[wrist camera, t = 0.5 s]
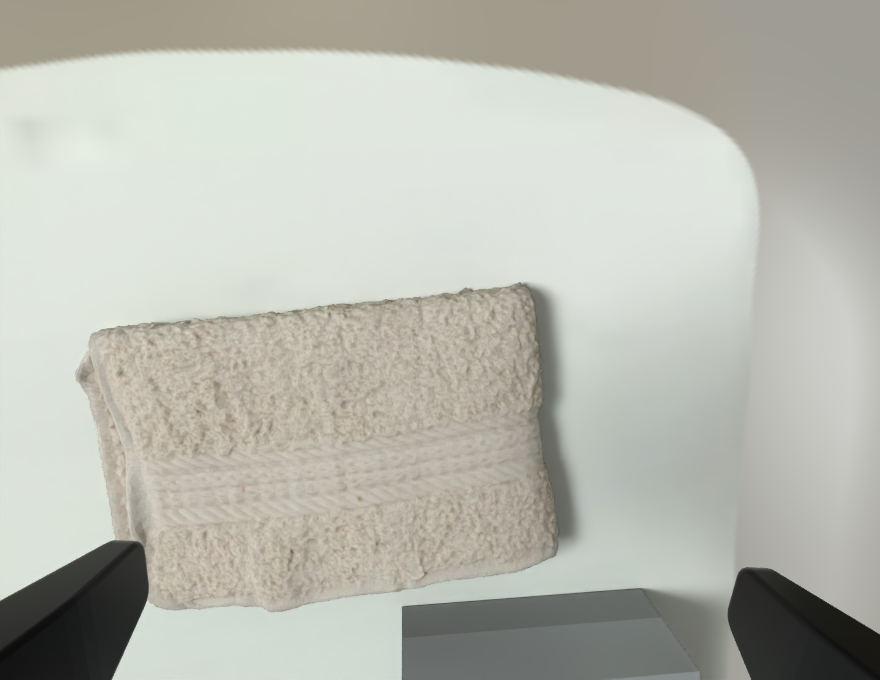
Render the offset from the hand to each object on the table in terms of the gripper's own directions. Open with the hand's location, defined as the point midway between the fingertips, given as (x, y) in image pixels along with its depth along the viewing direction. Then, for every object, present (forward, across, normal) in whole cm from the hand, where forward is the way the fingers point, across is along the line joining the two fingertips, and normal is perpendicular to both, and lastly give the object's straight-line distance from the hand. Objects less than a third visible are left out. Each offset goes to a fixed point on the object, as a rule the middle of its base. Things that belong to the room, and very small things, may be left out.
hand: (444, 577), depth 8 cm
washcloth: (+14, +4, +5) cm, 16 cm away
